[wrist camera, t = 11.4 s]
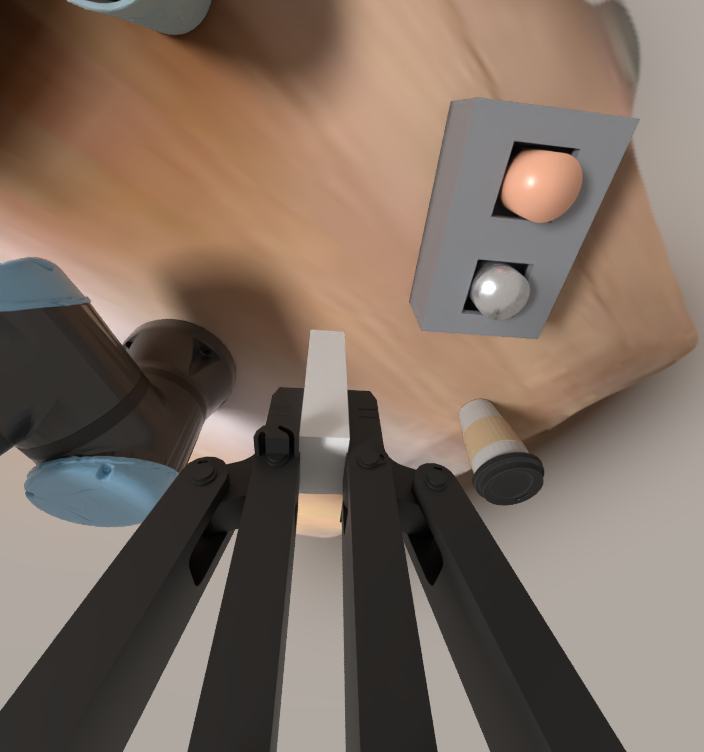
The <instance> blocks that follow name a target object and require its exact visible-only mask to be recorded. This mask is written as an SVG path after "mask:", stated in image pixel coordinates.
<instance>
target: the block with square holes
mask: <svg viewBox="0 0 704 752" xmlns="http://www.w3.org/2000/svg"><path fill="white" fill-rule="evenodd" d="M639 120H640V119H637V118H629V117H622V116H614V115H607V114H599V113H592V112H584V111H577V110H569V109H562V108H554V107H547V106H539V105H532V104H524V103H516V102H509V101H501V100H494V99H486V98H479V97H477V98H470V99H464V100H457V101H451V103H450V108H449V112H448V117H447V122H446V127H445V132H444V137H443V141H442V146H441V151H440V156H439V161H438V165H437V170H436V175H435V180H434V185H433V190H432V194H431V199H430V204H429V209H428V214H427V219H426V223H425V228H424V233H423V238H422V243H421V247H420V252H419V257H418V262H417V267H416V272H415V276H414V281H413V286H412V291H411V296H410V301H409V302H410V305H411V307H412V310H413V312H414V314H415V317H416V319H417V322H418V324H419V326H420V329H421V331H429V332H444V333H458V334H472V335H487V336H501V337H516V338H530V339H538V338H539V336H540V333H541V331H542V329H543V327H544V325H545V323H546V320H547V318H548V316H549V314H550V312H551V310H552V308H553V305H554V303H555V301H556V299H557V297H558V295H559V292H560V290H561V288H562V286H563V284H564V282H565V280H566V277H567V275H568V273H569V271H570V269H571V267H572V265H573V262H574V260H575V258H576V256H577V254H578V252H579V249H580V247H581V245H582V243H583V241H584V239H585V237H586V234H587V232H588V230H589V228H590V226H591V224H592V221H593V219H594V217H595V215H596V213H597V211H598V209H599V206H600V204H601V202H602V200H603V198H604V196H605V194H606V191H607V189H608V187H609V185H610V183H611V181H612V178H613V176H614V174H615V172H616V170H617V168H618V166H619V163H620V161H621V159H622V157H623V155H624V153H625V150H626V148H627V146H628V144H629V142H630V140H631V138H632V135H633V133H634V131H635V129H636V127H637V125H638V123H639ZM520 147H525V148H532V149H539V150H546V151H553V152H559V153H565V154H569V155H571V156H573V157H574V158H575V159H576V160H577V161H578V162H579V164H580V166H581V169H582V175H583V177H582V185H581V189H580V192H579V194H578V196H577V198H576V200H575V201H574V203H573V204H572V205H571V207H570V208H569V209H568V210H567V211H566V212H565V213H563V214H562V215H561V216H559V217H558V218H556V219H554V220H552V221H549V222H544V223H536V222H532V221H530V220H528V219H526V218H524V217H522V216H520V215H518V214H516V213H514V212H512V211H510V210H508V209H506V208H504V207H502V206H501V205H499V204H497V203H496V199H497V196H498V192H499V189H500V186H501V182H502V179H503V176H504V173H505V169H506V166H507V163H508V160H509V156H510V153H511V150H513V149H515V148H520ZM478 259H480V260H492V261H503V262H507V263H508V264H509V265H510V266H512V267H513V268H514V269H515V270H516V271H518V272H519V273H520V274H521V275H522V276H524V277H525V278H526V280H527V281H528V283H529V286H530V294H529V298H528V300H527V302H526V304H525V306H524V307H523V308H522V309H521V310H520V311H519V312H518V313H517V314H515V315H514V316H512V317H510V318H507V319H504V320H491V319H488V318H486V317H484V316H483V315H482V313H481V312H480V311H479V310H478V308H477V307H476V306H475V304H474V303H473V302H472V300H471V299H470V298H469V296H468V295H467V294H468V290H469V287H470V284H471V281H472V277H473V274H474V271H475V267H476V264H477V261H478Z"/></svg>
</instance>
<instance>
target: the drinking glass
mask: <svg viewBox="0 0 704 752" xmlns="http://www.w3.org/2000/svg"><path fill="white" fill-rule="evenodd" d="M67 1H69V2H71V3H73V4H75V5H78V6H80V7H82V8H85V9H88V10H91V11H95V12H99V13H102V14H106V15H110V16H112V17H116V18H121V19H123V20H125V21H128V22H131V23H134V24H138V25H141V26H144V27H146V28H149V29H152V30H155V31H158V32H160V33H164V34H169V35H180V34H184V33H187V32H189V31H191V30H193V29H195V28H196V27H197V26H198V25H199V24H200V23H201V22H202V20H203V19H204V17H205V16H206V14H207V12H208V10H209V7H210V4H211V0H67Z"/></svg>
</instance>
